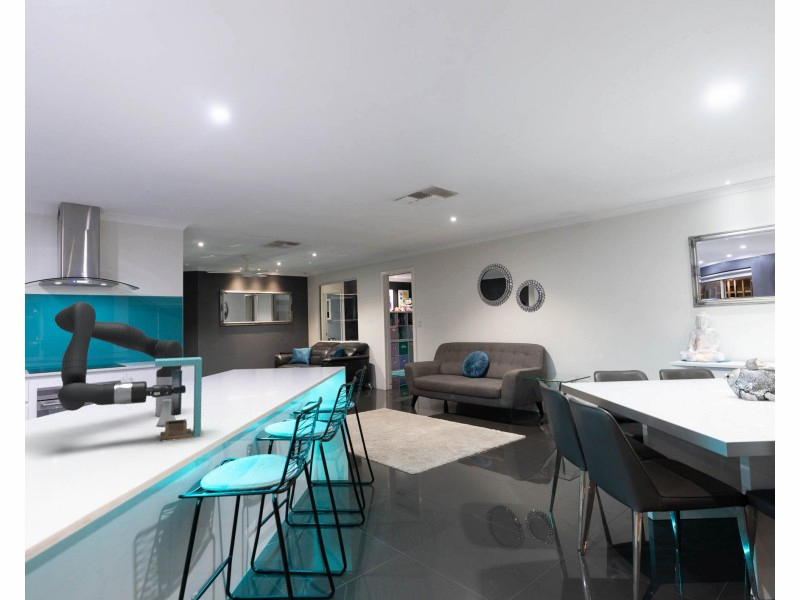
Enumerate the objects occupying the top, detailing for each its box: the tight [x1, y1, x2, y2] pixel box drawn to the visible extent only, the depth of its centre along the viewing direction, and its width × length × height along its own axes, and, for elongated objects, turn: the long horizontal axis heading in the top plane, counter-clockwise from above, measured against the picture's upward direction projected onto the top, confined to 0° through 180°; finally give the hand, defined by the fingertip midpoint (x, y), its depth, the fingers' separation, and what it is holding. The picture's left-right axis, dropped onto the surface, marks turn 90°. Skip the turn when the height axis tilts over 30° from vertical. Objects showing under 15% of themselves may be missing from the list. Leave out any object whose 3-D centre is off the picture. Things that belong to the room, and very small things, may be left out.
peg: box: [171, 369, 183, 416], centre depth 156 cm, size 3×3×16 cm
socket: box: [159, 418, 193, 442], centre depth 156 cm, size 10×10×5 cm
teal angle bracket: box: [154, 356, 203, 438], centre depth 157 cm, size 10×15×28 cm, turn 118°
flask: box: [156, 399, 177, 427], centre depth 173 cm, size 7×7×10 cm
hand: (185, 389), depth 158 cm, fingers closed on peg, 3 cm apart
